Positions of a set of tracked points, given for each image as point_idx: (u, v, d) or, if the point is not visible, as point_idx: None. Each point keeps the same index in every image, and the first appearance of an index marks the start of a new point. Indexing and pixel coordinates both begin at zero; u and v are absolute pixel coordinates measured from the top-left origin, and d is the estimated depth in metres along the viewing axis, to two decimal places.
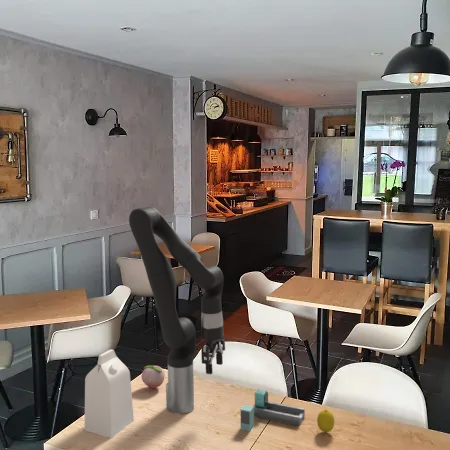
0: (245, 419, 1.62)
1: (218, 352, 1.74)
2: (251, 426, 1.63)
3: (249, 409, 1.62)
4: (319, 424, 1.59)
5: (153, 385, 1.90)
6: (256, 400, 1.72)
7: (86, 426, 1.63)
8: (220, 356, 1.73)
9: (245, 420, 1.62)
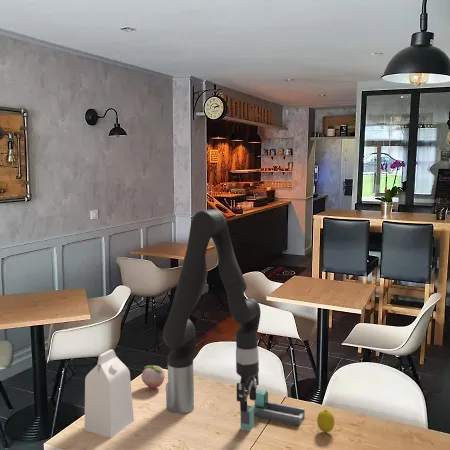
0: (245, 419, 1.62)
1: (252, 387, 1.66)
2: (251, 426, 1.63)
3: (249, 409, 1.62)
4: (319, 424, 1.59)
5: (153, 385, 1.90)
6: (256, 400, 1.72)
7: (86, 426, 1.63)
8: (254, 391, 1.66)
9: (245, 420, 1.62)
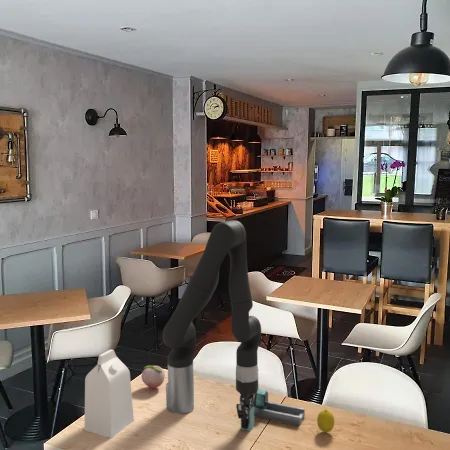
0: None
1: None
2: (251, 426, 1.63)
3: None
4: (319, 424, 1.59)
5: (153, 385, 1.90)
6: (256, 400, 1.72)
7: (86, 426, 1.63)
8: None
9: None
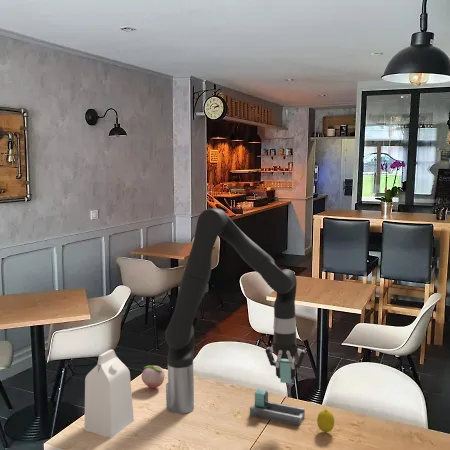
0: None
1: None
2: (283, 379, 1.64)
3: (283, 361, 1.64)
4: (319, 424, 1.59)
5: (153, 385, 1.90)
6: (256, 400, 1.72)
7: (86, 426, 1.63)
8: (291, 370, 1.64)
9: None
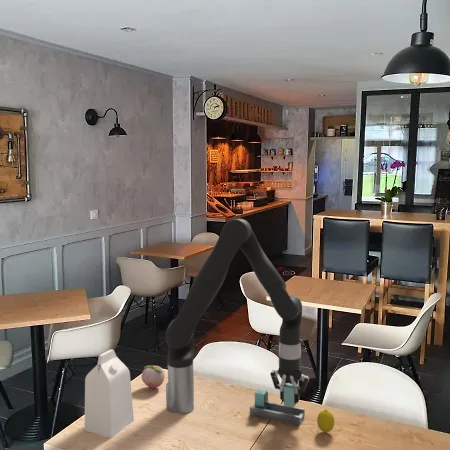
0: None
1: None
2: (287, 403, 1.67)
3: (287, 386, 1.67)
4: (319, 424, 1.59)
5: (153, 385, 1.90)
6: (256, 400, 1.72)
7: (86, 426, 1.63)
8: None
9: None
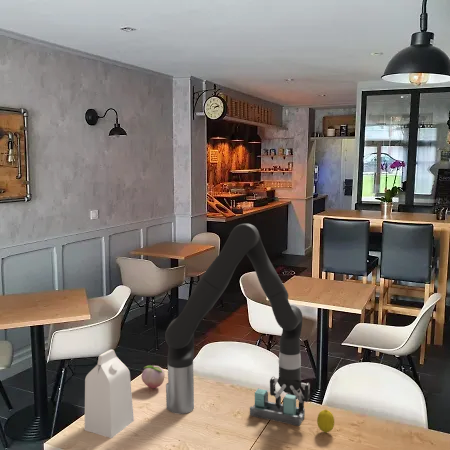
0: None
1: None
2: None
3: (287, 397, 1.68)
4: (319, 424, 1.59)
5: (153, 385, 1.90)
6: (256, 400, 1.72)
7: (86, 426, 1.63)
8: None
9: None
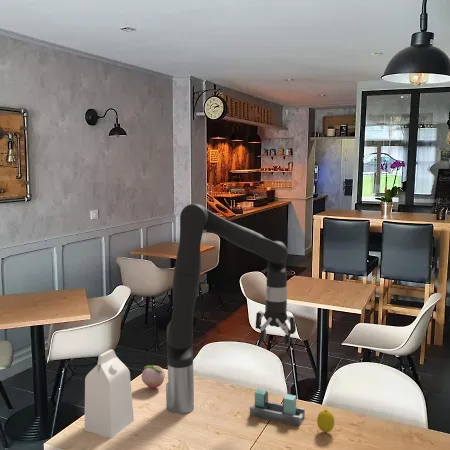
0: None
1: None
2: None
3: (287, 397, 1.68)
4: (319, 424, 1.59)
5: (153, 385, 1.90)
6: (256, 400, 1.72)
7: (86, 426, 1.63)
8: None
9: None
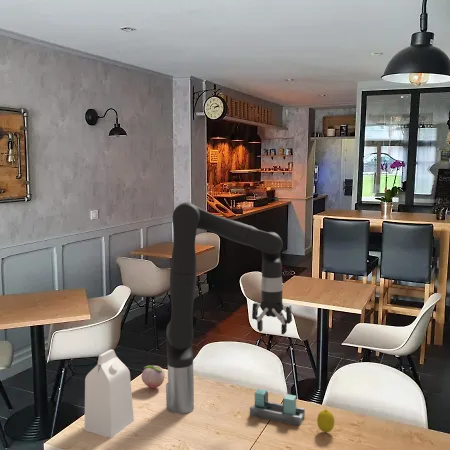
0: None
1: None
2: None
3: (287, 397, 1.68)
4: (319, 424, 1.59)
5: (153, 385, 1.90)
6: (256, 400, 1.72)
7: (86, 426, 1.63)
8: None
9: None
